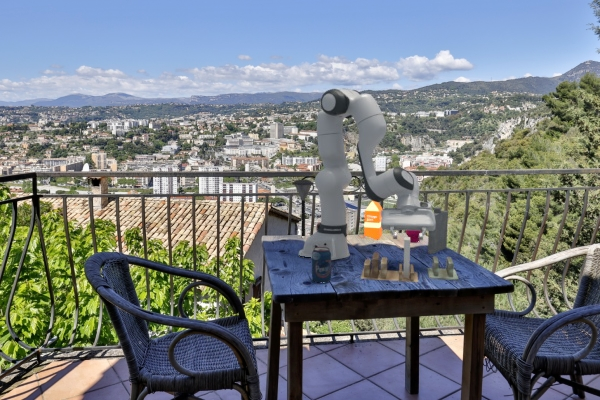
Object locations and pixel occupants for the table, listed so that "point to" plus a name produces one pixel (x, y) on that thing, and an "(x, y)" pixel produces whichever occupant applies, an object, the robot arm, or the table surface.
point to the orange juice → (373, 221)
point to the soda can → (321, 264)
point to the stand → (442, 270)
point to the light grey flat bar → (406, 257)
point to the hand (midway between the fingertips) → (407, 238)
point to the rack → (385, 271)
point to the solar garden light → (303, 197)
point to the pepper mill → (413, 235)
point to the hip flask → (438, 232)
